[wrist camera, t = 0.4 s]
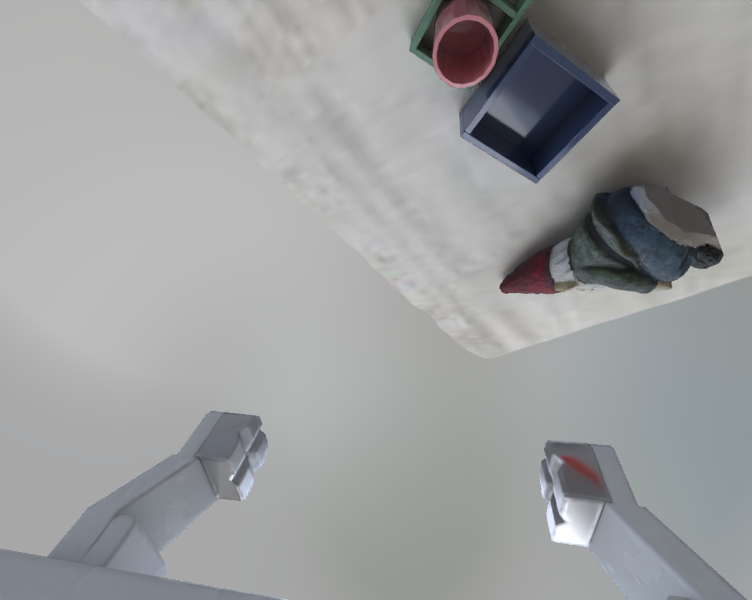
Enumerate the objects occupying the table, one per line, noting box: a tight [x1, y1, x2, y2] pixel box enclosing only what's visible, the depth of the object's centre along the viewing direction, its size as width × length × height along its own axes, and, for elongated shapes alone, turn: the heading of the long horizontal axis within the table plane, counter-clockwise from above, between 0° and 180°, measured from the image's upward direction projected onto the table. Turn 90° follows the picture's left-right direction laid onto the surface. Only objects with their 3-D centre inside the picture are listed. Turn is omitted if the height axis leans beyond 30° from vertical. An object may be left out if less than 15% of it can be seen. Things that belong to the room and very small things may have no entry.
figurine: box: [500, 184, 723, 294], centre depth 60 cm, size 29×17×15 cm
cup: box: [432, 0, 499, 88], centre depth 41 cm, size 6×6×10 cm
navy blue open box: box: [459, 19, 620, 183], centre depth 47 cm, size 12×12×6 cm
